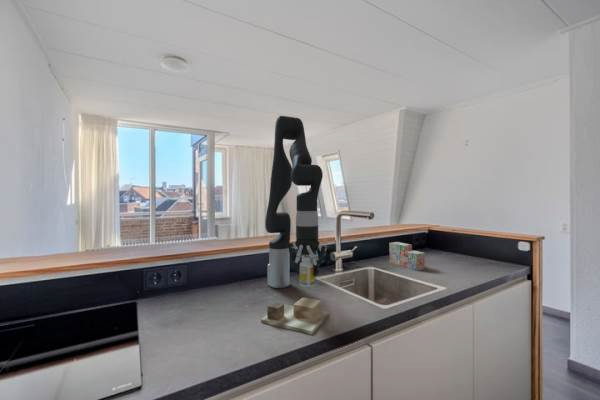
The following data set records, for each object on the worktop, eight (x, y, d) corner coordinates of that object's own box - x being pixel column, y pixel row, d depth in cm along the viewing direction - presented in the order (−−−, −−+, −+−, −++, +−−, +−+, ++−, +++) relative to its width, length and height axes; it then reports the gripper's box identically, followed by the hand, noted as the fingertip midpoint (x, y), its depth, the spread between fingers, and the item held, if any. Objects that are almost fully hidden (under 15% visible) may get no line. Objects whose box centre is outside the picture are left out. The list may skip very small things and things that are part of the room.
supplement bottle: (300, 287, 91) (300, 258, 90) (298, 282, 96) (298, 254, 96) (316, 287, 91) (316, 257, 91) (314, 282, 96) (314, 254, 96)
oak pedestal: (293, 316, 92) (293, 304, 92) (302, 308, 98) (302, 297, 98) (312, 320, 89) (312, 308, 89) (321, 312, 95) (321, 300, 95)
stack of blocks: (424, 269, 153) (424, 247, 153) (416, 271, 150) (416, 248, 150) (397, 261, 172) (397, 241, 172) (389, 262, 170) (389, 242, 170)
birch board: (260, 322, 90) (260, 319, 90) (282, 306, 103) (282, 304, 103) (311, 334, 82) (311, 331, 82) (328, 315, 95) (328, 313, 95)
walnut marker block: (267, 318, 91) (267, 306, 91) (273, 313, 94) (273, 301, 94) (277, 320, 89) (277, 308, 89) (284, 315, 93) (284, 303, 93)
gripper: (331, 224, 93) (331, 274, 94) (293, 222, 100) (293, 269, 100) (322, 226, 87) (323, 280, 87) (282, 224, 93) (283, 274, 93)
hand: (307, 274), depth 94 cm, fingers closed on supplement bottle, 5 cm apart
